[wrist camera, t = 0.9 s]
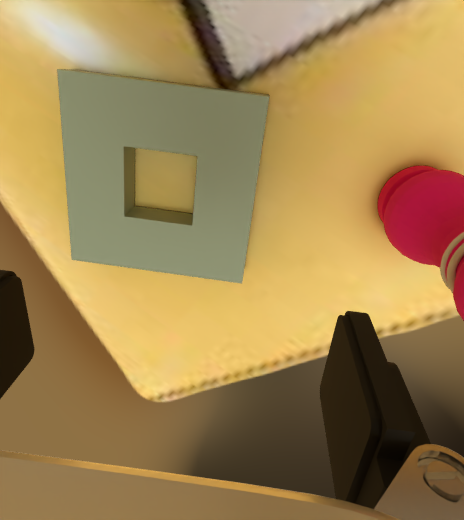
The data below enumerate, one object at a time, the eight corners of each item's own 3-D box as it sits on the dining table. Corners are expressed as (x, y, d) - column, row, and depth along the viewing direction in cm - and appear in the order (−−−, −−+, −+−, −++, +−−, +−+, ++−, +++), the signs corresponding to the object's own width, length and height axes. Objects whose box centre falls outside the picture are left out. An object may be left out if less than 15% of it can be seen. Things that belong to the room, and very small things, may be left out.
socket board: (74, 69, 32) (57, 69, 29) (269, 94, 31) (269, 96, 29) (85, 246, 39) (71, 259, 36) (243, 268, 38) (242, 283, 36)
